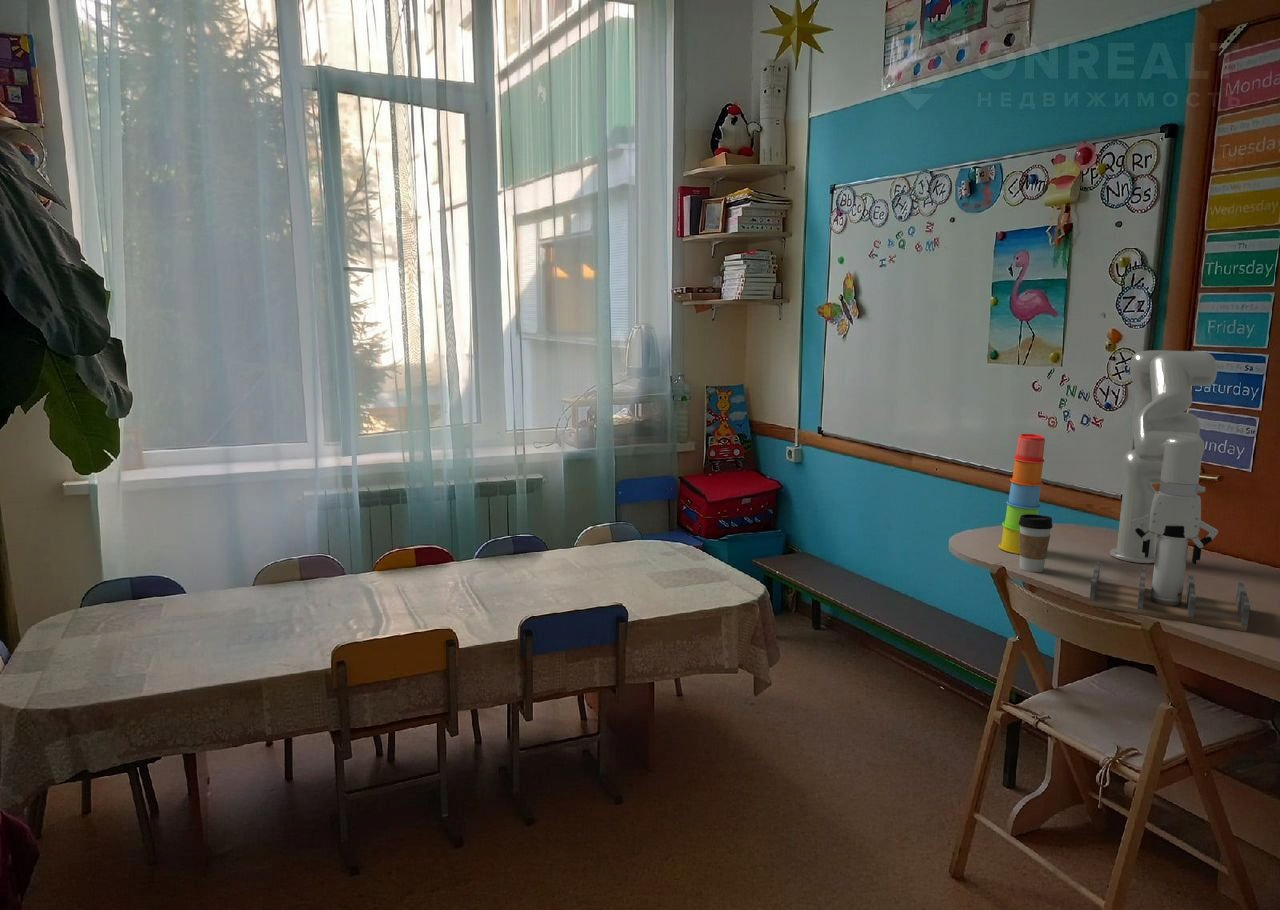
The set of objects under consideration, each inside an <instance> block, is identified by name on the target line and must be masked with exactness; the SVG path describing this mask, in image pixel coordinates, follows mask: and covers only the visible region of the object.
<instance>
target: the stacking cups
mask: <svg viewBox="0 0 1280 910" xmlns="http://www.w3.org/2000/svg"><path fill="white" fill-rule="evenodd" d="M1045 443H1046V440H1045V437H1044V436H1043V435H1040V434H1034V433H1021V434H1020V436H1018V440H1017V447H1016V453H1015V456H1013V459H1014V464H1013V470H1012V471H1013V473H1012V477H1011V478H1009V481H1010V482H1011V483H1010V489H1009V495H1008V500H1006V502H1005V503H1006V504H1007V506H1006V514H1005V520H1004V521H1003V522H1002V524H1001V525H1002V526H1003V527H1002V528H1003V530H1002V535H1001V542H1000V543H999V544H998V548H999V549H1001V551H1005V552H1007V553H1011V554H1017V555H1020V547H1019V531H1020V525H1019V520H1020V517H1021V515H1024V514H1034V515H1039V509H1040V508H1041V504H1040V496H1041V488H1042V485H1044V484H1043V482H1042V475H1043V474H1042V473H1043V465H1044V463H1045V459H1044V453H1045V445H1046V444H1045Z"/></svg>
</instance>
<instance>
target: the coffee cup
mask: <svg viewBox="0 0 1280 910" xmlns="http://www.w3.org/2000/svg"><path fill="white" fill-rule="evenodd" d="M1019 525H1020V531H1019V547H1020V554H1019V569H1021V570H1022V571H1024V572H1025V571H1026V572H1030V573H1031V572H1032V573H1042V572H1043V571H1044V570H1045V569H1044V568H1045V563H1046V559H1047V553H1048V549H1049V543H1050V538H1051V529H1052V528H1053V518H1052V516H1049V515H1048V516H1047V515H1042V514H1038V515H1034V514H1024V515H1021V517H1020V520H1019Z"/></svg>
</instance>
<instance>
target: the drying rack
mask: <svg viewBox="0 0 1280 910" xmlns="http://www.w3.org/2000/svg"><path fill="white" fill-rule="evenodd" d="M1101 564H1102V563H1101V562H1100V561H1099V562H1098V561H1096V562H1095V565H1094V569H1093V573H1092V578H1091V580H1090V581H1091V582H1090V592H1089V599H1088V600H1089V602H1088V606H1091V607H1097V608H1101V609H1109V610H1114V611H1119V612H1126V613H1132V614H1137V615H1144V616H1149V617H1155V618H1162V619H1168V620H1174V621H1180V622H1187V623H1191V624H1198V625H1204V626H1210V627H1216V628H1220V629H1221V628H1222V629H1227V630H1235V631H1240V632H1244V633H1245V632H1247V629H1248V624H1249V617H1250V611H1251V610H1250V609H1251V603H1250V600H1249V596H1248V593H1247V591H1246V588H1245V583H1244V582H1241V581H1238V582H1237V589H1236V595H1235V601H1232V600H1231V601H1230V600H1224V599H1219V598H1211V597H1206V596H1201V595H1200V596H1199V595H1197V593H1196V586H1195V585H1196V584H1195V578H1194V575H1191V574H1188V576H1187V585H1186V593H1182V597H1181V598H1182V600H1181V604H1180V605H1177V606H1168V605H1162V604H1158V603H1156V602H1153V601H1152V600H1151V593H1152V592H1151V590H1152V588H1147V587H1146V575H1147V573H1146V572H1147V571H1146V570H1147V568H1142V567H1141V568H1140V575H1139V584H1138V585H1139V586H1133V585H1128V584H1127V585H1126V584H1120V583H1114V582H1113V583H1112V582H1106V581H1102V580H1101V581H1100V574H1101V573H1100V571H1101Z"/></svg>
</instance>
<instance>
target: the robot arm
mask: <svg viewBox="0 0 1280 910" xmlns="http://www.w3.org/2000/svg"><path fill="white" fill-rule="evenodd" d="M1129 373H1130V378H1131V381H1132V385H1133V388H1134V394H1135V398H1134V399H1135V400H1134V408H1133V414H1132V415H1133V416H1132V417H1133V418H1132V427H1131V428H1132V429H1131V434H1132V435H1131V436H1132V439H1133V445H1134V449H1131V450H1128V451H1127V452H1126V453H1125V454H1124V455H1123V457H1122V464H1121V465H1122V467H1121V469H1122V485H1123V486H1122V497H1121V504H1120V505H1121V507H1120V514H1119V515H1120V517H1119V524H1118V534H1117V535H1118V536H1117V544H1116V547H1113V548H1111V549H1110V551H1109V552H1110V553H1109V554H1110V555H1111V556H1112V557H1114V558H1116V559H1119V560H1121V561H1126V562H1131V563H1137V564H1138V563H1139V564H1155V555H1156V546H1157V538H1158V535H1163V533H1164V530H1165V527H1166V526H1176V527H1178V526H1184V533H1185V534H1184V535H1185V538H1187V539H1189V540H1192V541H1193V543H1194V545H1193V548H1192V549H1193V550H1192V556H1191V557H1192V558H1191V559H1192V560H1191V563H1192V565H1193V564H1194V565H1197V561H1200V560H1201V554H1202V548H1204V547H1206V545H1208V544H1210V543H1211V542H1212V541H1213V540H1214V539H1215V538H1216V536H1218V533H1219V530H1218V529H1217V528H1216V527H1213V526H1211V525H1210V524H1208V523H1206V522H1205V521H1202V519H1201V518H1202V499H1201V496H1200V495H1198V494H1200V493H1206V486H1202V485H1200V484H1199V483H1200V482H1199V481H1200V474H1201V466H1202V457H1203V456H1204V453H1205V441H1204V440H1203V439H1202V437H1201V435H1200V431H1201V428H1200V421H1199V419H1198V416H1196V415H1195V414H1193V413H1190V412H1186V411H1187V410H1188V409H1190V407H1191V406H1192V403H1193V396H1192V387H1210V386H1212V385H1213V383H1214V382H1215V381H1216V379H1217V375H1218V365H1217V361H1216V359H1215V357H1214V356H1213V355H1212V354H1211V353H1208V352H1204V351H1197V350H1196V351H1194V350H1189V351H1188V350H1165V349H1163V350H1159V349H1158V350H1156V349H1155V350H1152V349H1151V350H1142V351H1138V352H1136V353H1134V354H1133V355H1132V356H1131V359H1130V363H1129ZM1191 386H1192V387H1191ZM1154 484H1155V485H1157V484H1158V485H1159V490H1158V491H1157V490H1156V489H1155V488H1154V487H1153V485H1154ZM1200 529H1202V530H1204V531H1206V532H1208V534H1207V535H1206V536H1204V537H1203V538H1200V537H1199V534H1200V531H1201V530H1200Z"/></svg>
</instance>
